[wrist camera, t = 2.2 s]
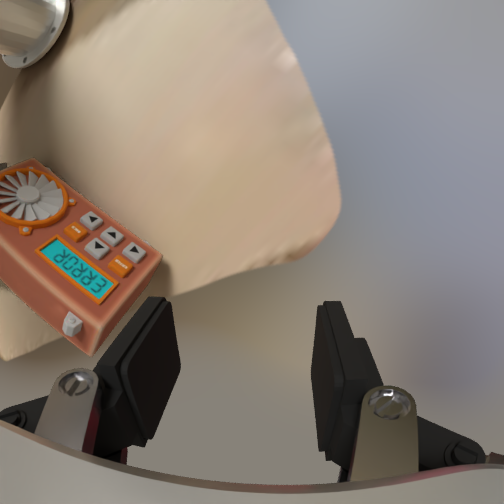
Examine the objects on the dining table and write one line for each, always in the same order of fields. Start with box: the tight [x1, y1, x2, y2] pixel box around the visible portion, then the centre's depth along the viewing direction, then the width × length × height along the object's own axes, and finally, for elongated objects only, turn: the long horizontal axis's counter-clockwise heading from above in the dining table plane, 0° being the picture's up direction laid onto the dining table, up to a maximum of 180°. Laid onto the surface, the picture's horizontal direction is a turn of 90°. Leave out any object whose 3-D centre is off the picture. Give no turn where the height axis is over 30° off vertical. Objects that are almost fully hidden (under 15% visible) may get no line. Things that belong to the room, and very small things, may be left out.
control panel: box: [0, 158, 163, 357], centre depth 28 cm, size 21×7×15 cm, turn 55°
